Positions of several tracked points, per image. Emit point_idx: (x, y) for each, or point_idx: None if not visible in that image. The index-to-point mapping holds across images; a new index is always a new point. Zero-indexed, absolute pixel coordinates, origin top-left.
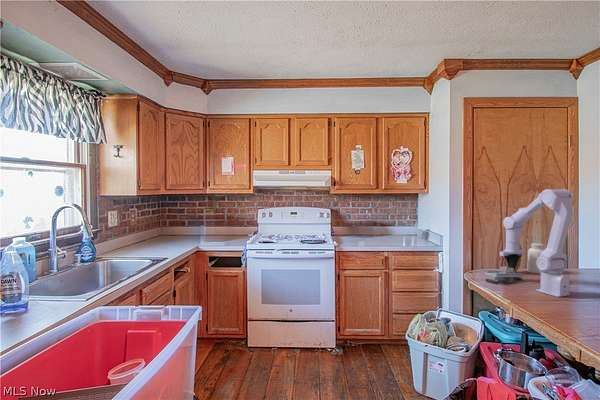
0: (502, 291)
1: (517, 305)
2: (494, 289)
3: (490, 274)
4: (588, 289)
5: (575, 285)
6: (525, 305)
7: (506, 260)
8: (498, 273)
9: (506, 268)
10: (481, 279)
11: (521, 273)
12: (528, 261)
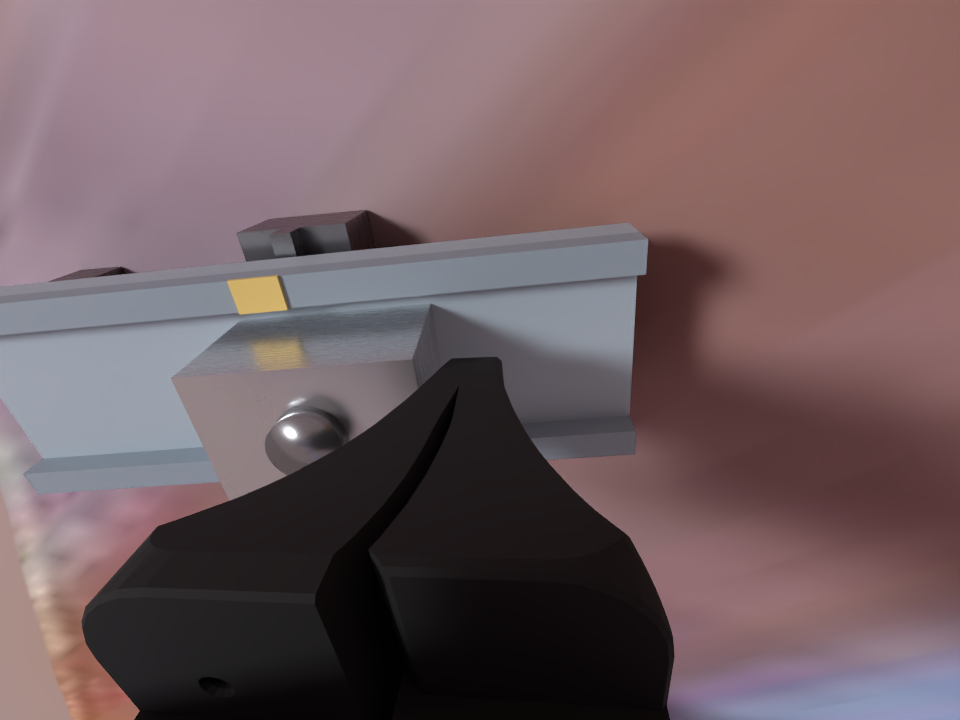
0: (108, 542)
1: (74, 685)
2: (63, 494)
3: (13, 388)
4: (875, 716)
5: (952, 648)
6: (118, 697)
7: (322, 463)
8: (79, 484)
9: (238, 494)
10: (64, 160)
11: (588, 456)
12: None
